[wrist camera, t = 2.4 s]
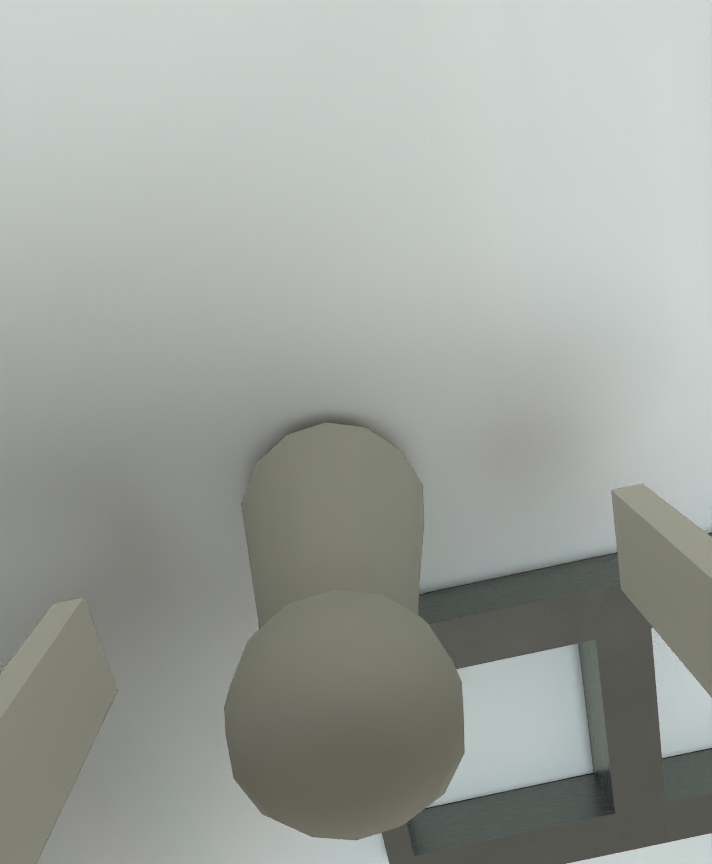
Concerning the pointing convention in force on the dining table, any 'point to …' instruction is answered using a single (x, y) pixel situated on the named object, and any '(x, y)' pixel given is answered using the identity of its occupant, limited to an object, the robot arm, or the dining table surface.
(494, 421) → the dining table surface
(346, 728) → the salt shaker
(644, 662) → the double window frame
